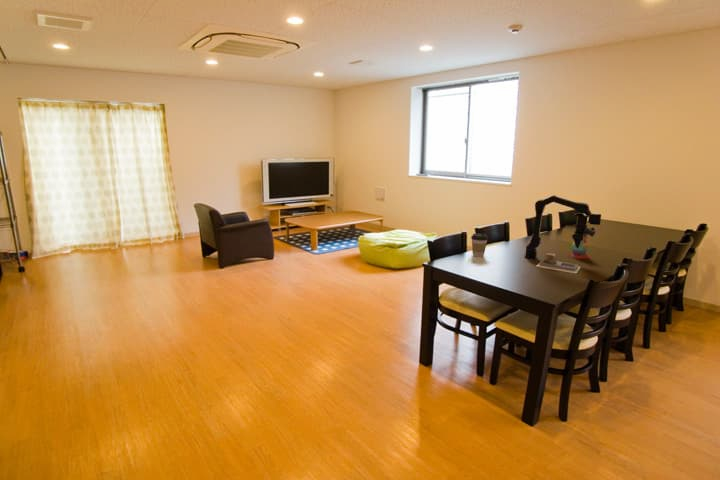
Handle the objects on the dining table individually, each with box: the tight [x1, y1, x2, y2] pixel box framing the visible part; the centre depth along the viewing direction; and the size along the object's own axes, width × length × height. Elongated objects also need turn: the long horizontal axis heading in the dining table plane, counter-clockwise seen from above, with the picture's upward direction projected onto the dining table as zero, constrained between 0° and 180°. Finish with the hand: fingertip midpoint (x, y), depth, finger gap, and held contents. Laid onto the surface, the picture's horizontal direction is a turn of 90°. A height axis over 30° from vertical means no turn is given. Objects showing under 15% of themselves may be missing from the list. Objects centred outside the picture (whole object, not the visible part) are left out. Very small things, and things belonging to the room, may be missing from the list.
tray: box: [536, 258, 581, 274], centre depth 256 cm, size 23×14×2 cm, turn 53°
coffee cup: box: [470, 232, 489, 258], centre depth 279 cm, size 11×11×15 cm
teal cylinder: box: [573, 239, 584, 251], centre depth 260 cm, size 5×5×7 cm
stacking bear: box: [570, 234, 590, 260], centre depth 277 cm, size 11×10×18 cm
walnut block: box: [544, 252, 557, 265], centre depth 259 cm, size 5×5×7 cm
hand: (578, 247), depth 260 cm, fingers closed on teal cylinder, 5 cm apart
